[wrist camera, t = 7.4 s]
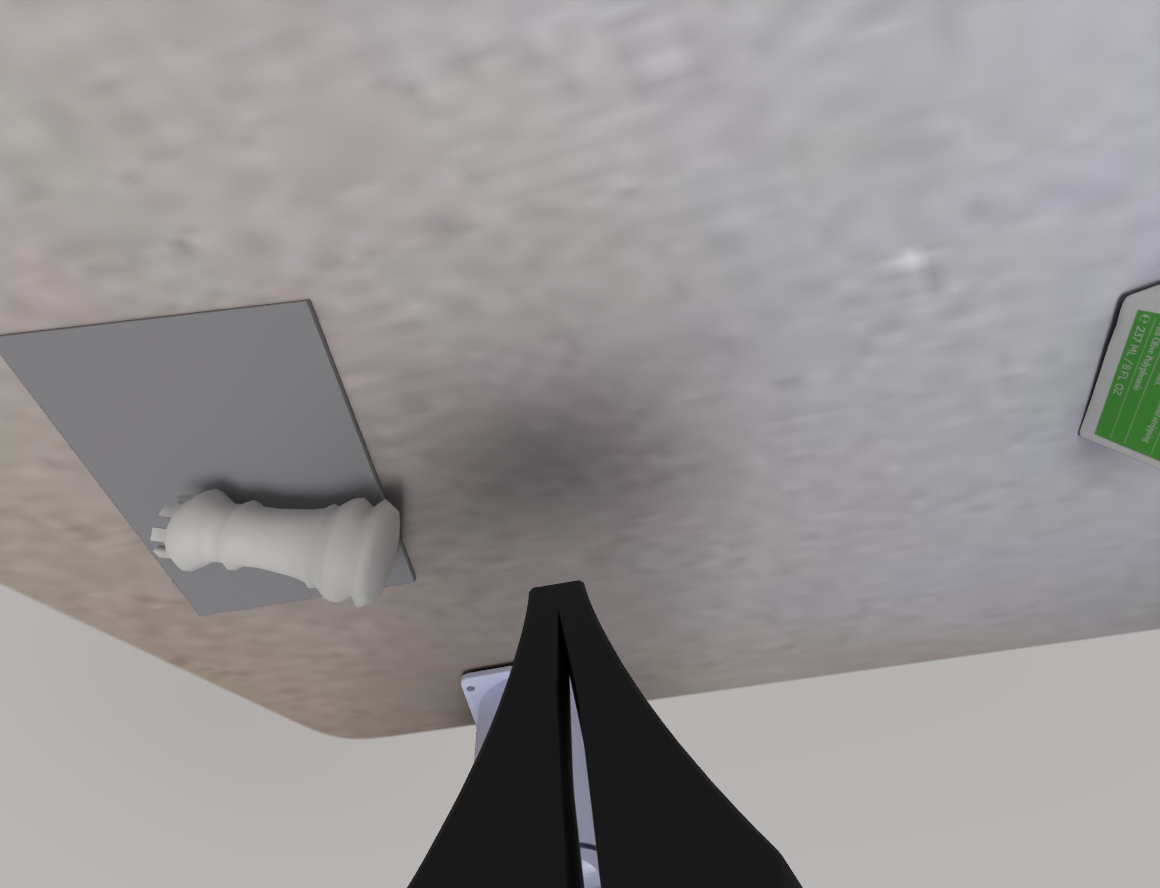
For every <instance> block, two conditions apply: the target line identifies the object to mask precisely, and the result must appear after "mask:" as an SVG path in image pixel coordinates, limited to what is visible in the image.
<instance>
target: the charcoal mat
mask: <svg viewBox="0 0 1160 888" xmlns="http://www.w3.org/2000/svg"><path fill="white" fill-rule="evenodd" d="M0 355H1V356H2V358H3V359H4V360H5V362H6V363H7V364H8V366H9V367H10V368H11V369H12V371H13V372H14V373H15V375H16V376H17V377H18V379H19V380H20V381H21V383H22V384H23V385H24V387H25V388H26V389H27V390H28V392H29V393H30V394H31V396H32V397H33V398H34V400H35V401H36V402H37V404H38V405H39V406H40V408H41V409H42V410H43V411H44V413H45V414H46V415H47V417H48V418H49V419H50V421H51V422H52V423H53V425H54V426H55V427H56V429H57V430H58V431H59V432H60V434H61V435H62V436H63V438H64V439H65V440H66V442H67V443H68V444H69V446H70V447H71V448H72V450H73V451H74V452H75V453H76V455H77V456H78V457H79V459H80V460H81V461H82V463H83V464H84V465H85V467H86V468H87V469H88V471H89V472H90V473H91V474H92V476H93V477H94V478H95V480H96V481H97V482H98V484H99V485H100V486H101V488H102V489H103V490H104V492H105V493H106V494H107V495H108V497H109V498H110V499H111V501H112V502H113V503H114V505H115V506H116V507H117V509H118V510H119V511H120V513H121V514H122V515H123V516H124V518H125V519H126V520H127V522H128V523H129V524H130V526H131V527H132V528H133V530H134V531H135V532H136V534H137V535H138V536H139V537H140V539H141V540H142V541H143V543H144V544H145V545H146V547H147V548H148V549H149V551H150V552H151V553H152V555H153V556H154V557H155V558H156V560H157V561H158V562H159V564H160V565H161V566H162V568H163V569H164V570H165V572H166V573H167V574H168V576H169V577H170V578H171V580H172V581H173V582H174V583H175V585H176V586H177V587H178V589H179V590H180V591H181V593H182V594H183V595H184V597H185V598H186V599H187V601H188V602H189V603H190V604H191V606H192V607H193V608H194V610H195V611H196V612H197V614H198V615H199V616H205V615H212V614H218V613H224V612H231V611H237V610H243V609H249V608H256V607H262V606H268V605H274V604H281V603H287V602H293V601H299V600H306V599H312V598H318V597H322V595H321V594H320V592H319V591H318V589H317V588H308V587H307V585H306V584H305V582H303V581H300V580H298V579H296V578H293V577H291V576H287V575H283V574H280V573H276V572H272V571H268V570H264V569H260V568H254V567H246V566H243V567H241V568H239V569H237V570H227V569H226V567H225V566H224V565H223V563H219V562H212V563H210V564H208V565H206V566H203V567H201V568H199V569H196V570H194V571H182V570H181V569H180V568H179V567H178V566H177V565H176V564H175V563H174V562H173V561H172V559H170V558H162V557H158V556H157V555H156V554H155V553H154V552H153V550H154V549H155V548H156V547H157V546H158V545H163V546H165V544H164V542H158V541H151V534H152V527H161V528H167V526H168V524H169V522H170V520H171V518H166V517H162V516H160V515H159V513H160V512H161V510H162V509H163V508H164V507H165V506H166V504H167V503H168V504H175V505H181V504H178V503H177V496H181V495H186V494H188V495H195V496H196V495H198V494H200V493H202V492H204V491H208V490H212V489H217V490H220V491H222V492H225V493H226V495H227V496H228V497H229V498H230V499H231V500H232V501H233V502H234V503H235V504H244V503H246V502H249V501H252V500H255V501H258V502H260V503H261V504H262V505H263V506H264V507H270V508H277V509H320V508H327V507H328V506H330V505H333V504H336V505H338V506H341V505H343V504H344V503H346V502H348V501H350V500H352V499H355V498H365V499H367V500H368V501H369V502H370V503H371V504H372V505H373V507H375V506H376V505H377V504H379V503H380V502H382V501H383V500H385V496H384V493H383V491H382V488H381V485H380V483H379V480H378V478H377V475H376V472H375V470H374V467H373V464H372V462H371V459H370V457H369V454H368V451H367V449H366V446H365V443H364V441H363V438H362V436H361V433H360V430H359V428H358V425H357V422H356V420H355V417H354V415H353V412H352V409H351V407H350V404H349V401H348V399H347V396H346V394H345V391H344V388H343V386H342V383H341V380H340V378H339V375H338V373H337V370H336V367H335V365H334V362H333V359H332V357H331V354H330V352H329V349H328V346H327V344H326V341H325V338H324V336H323V333H322V331H321V328H320V325H319V323H318V320H317V317H316V315H315V312H314V310H313V307H312V304H311V302H310V300H302V301H293V302H284V303H276V304H267V305H259V306H250V307H241V308H233V309H224V310H215V311H207V312H198V313H189V314H181V315H172V316H163V317H155V318H146V319H137V320H129V321H120V322H111V323H103V324H94V325H85V326H77V327H68V328H59V329H51V330H42V331H33V332H25V333H16V334H7V335H0ZM415 578H416V577H415V575H414V572H413V570H412V567H411V564H410V562H409V559H408V556H407V554H406V551H405V549H404V546H403V543H402V541H401V538H400V535H399V540H398V546H397V551H396V555H395V559H394V563H393V566H392V569H391V572H390V575H389V578H388V581H387V583H386V585H385V587H387V586H393V585H400V584H406V583H412V582H415Z"/></svg>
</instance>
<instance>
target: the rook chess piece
mask: <svg viewBox="0 0 1160 888" xmlns="http://www.w3.org/2000/svg"><path fill="white" fill-rule="evenodd" d="M177 503H178V504H181V505H175V504H168V503H167V504H166V506H165V507H164V508H163V509H162V510H161V512H160V513H159V515H160V516H162V517H166V518H171V520H170V522H169V524H168V526H167V528H161V527H152V534H151V541H158V542H164V544H165V546H163V545H158V546H157V547H156V548H155V549H154V550H153V552H154V553H155V554H156V555H157V556H158V557H162V558H170V559H172V561H173V562H174V563H175V564H176V565H177V566H178V567H179V568H180V569H181V570H182V571H194V570H196V569H199V568H201V567H203V566H206V565H208V564H210V563H212V562H219V563H223V565H224V566H225V567H226V569H227V570H237V569H239V568H241V567H243V566H246V567H254V568H260V569H264V570H268V571H272V572H276V573H280V574H283V575H287V576H291V577H293V578H296V579H298V580H300V581H303V582H305V584H306V585H307V587H308V588H317V589H318V591H319V592H320V594H321V595H322V597H323V598H324V599H326V600H328V601H331V602H333V603H340V602H342V601H344V600H345V599H347V598H349V597H351V598H352V600H353V602H354V604H355V606H356V607H363V606H365V605H367V604H369V603H371V602H373V601H375V600H376V599H377V598H378V597H379V596H380V594H381V593H382V591H383V589H384V587H385V585H386V583H387V581H388V578H389V575H390V572H391V569H392V566H393V563H394V559H395V555H396V551H397V546H398V540H399V534H400V514H399V511H398V510H397V509H396V508H395V507H394V506H393V505H392V504H391V503H389V502H388V501H387V500H386V499H385V500H383V501H382V502H380V503H379V504H377V505H376V506H375V507H373V505H372V504H371V503H370V502H369V501H368V500H367V499H365V498H355V499H352V500H350V501H348V502H346V503H344V504H343V505H341V506H338V505H336V504H333V505H330V506H328V507H327V508H320V509H277V508H270V507H264V506H263V505H262V504H261V503H260V502H258V501H255V500H252V501H249V502H246V503H244V504H235V503H234V502H233V501H232V500H231V499H230V498H229V497H228V496H227V495H226V493H225V492H222V491H220V490H217V489H212V490H208V491H204V492H202V493H200V494H198V495H196V496H195V495H188V494H186V495H181V496H177Z"/></svg>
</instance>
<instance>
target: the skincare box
mask: <svg viewBox="0 0 1160 888" xmlns="http://www.w3.org/2000/svg"><path fill="white" fill-rule="evenodd" d="M1080 435H1081V436H1082V437H1083V438H1085V439H1088V440H1090V441H1093V442H1095V443H1097V444H1100V445H1102V446H1105V447H1107V448H1110V449H1112V450H1114V451H1117V452H1119V453H1122V454H1124V455H1126V456H1129V457H1131V458H1133V459H1136V460H1138V461H1141V462H1143V463H1145V464H1148V465H1150V466H1152V467H1155V468H1157V469H1159V470H1160V284H1159V285H1156V286H1153V287H1150V288H1147V289H1145V290H1142V291H1139V292H1137V293H1134V294H1131V295H1129V296H1127V297H1126V298H1125V300H1124V302H1123V304H1122V307H1121V310H1120V313H1119V317H1118V321H1117V325H1116V327H1115V330H1114V332H1113V335H1112V338H1111V340H1110V343H1109V346H1108V349H1107V352H1106V355H1105V358H1104V361H1103V365H1102V368H1101V371H1100V374H1099V377H1098V380H1097V383H1096V386H1095V389H1094V392H1093V395H1092V398H1091V401H1090V404H1089V406H1088V409H1087V412H1086V415H1085V418H1084V421H1083V423H1082V426H1081V429H1080Z"/></svg>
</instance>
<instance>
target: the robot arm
mask: <svg viewBox="0 0 1160 888" xmlns="http://www.w3.org/2000/svg"><path fill="white" fill-rule="evenodd" d="M461 686H462V689H463V692H464V694H465V697H466V700H467V702H468V705H469V708H470V710H471V713H472V716H473V719H474V721H475V724H476V727H477V732H476V747H475V760H474V764H473V766H472V769H471V771H470V773H469V775H468V777H467V779H466V781H465V783H464V785H463V787H462V789H461V792H460V793H459V795H458V797H457V799H456V801H455V803H454V805H453V807H452V809H451V811H450V813H449V814H448V816H447V818H446V820H445V822H444V824H443V826H442V827H441V829H440V831H439V833H438V835H437V836H436V838H435V840H434V842H433V844H432V846H431V848H430V850H429V851H428V853H427V855H426V857H425V858H424V860H423V862H422V864H421V865H420V867H419V869H418V871H417V872H416V874H415V876H414V877H413V879H412V881H411V882H410V884H409V886H408V887H407V888H802V886H801V884H800V883H799V881H798V880H797V878H796V876H795V875H794V873H793V872H792V870H791V869H790V867H789V866H788V864H787V862H786V861H785V860H784V858H783V856H782V855H781V854H780V853H779V851H778V850H777V849H776V848H775V847H774V846H773V845H772V844H771V843H770V842H769V841H768V840H767V839H766V838H765V837H764V836H763V835H762V834H761V833H760V832H759V831H758V830H757V829H756V828H755V827H754V826H753V825H752V824H751V823H750V822H749V821H748V820H747V819H746V818H745V817H744V816H743V815H742V814H741V813H740V812H739V811H738V810H737V808H736V807H735V806H734V805H733V804H732V803H731V802H730V801H729V800H728V799H727V798H726V797H725V795H724V794H723V793H722V792H721V791H720V790H719V789H718V788H717V787H716V786H715V785H714V783H713V782H712V781H711V780H710V779H709V778H708V777H707V775H706V774H705V773H704V772H703V771H702V769H701V768H700V767H699V766H698V765H697V764H696V762H695V761H694V760H693V759H692V758H691V757H690V755H689V754H688V753H687V752H686V751H685V750H684V748H683V747H682V746H681V745H680V744H679V743H678V741H677V740H676V739H675V737H674V736H673V735H672V733H671V732H670V731H669V730H668V728H667V727H666V726H665V724H664V723H663V722H662V721H661V719H660V718H659V717H658V716H657V714H656V712H655V711H654V710H653V709H652V707H651V706H650V704H649V703H648V702H647V700H646V699H645V697H644V696H643V694H642V693H641V691H640V690H639V689H638V687H637V686H636V684H635V683H634V681H633V679H632V678H631V676H630V675H629V673H628V672H627V670H626V669H625V667H624V665H623V664H622V662H621V660H620V659H619V657H618V656H617V654H616V652H615V650H614V649H613V647H612V645H611V643H610V641H609V640H608V638H607V636H606V634H605V632H604V630H603V629H602V627H601V625H600V623H599V621H598V618H597V616H596V614H595V612H594V610H593V608H592V605H591V603H590V600H589V598H588V595H587V592H586V589H585V585H584V583H583V582H581V581H580V580H578V581H572V582H566V583H560V584H554V585H548V586H542V587H536V588H532V590H531V591H530V592H529V600H528V606H527V612H526V617H525V622H524V626H523V630H522V634H521V638H520V642H519V645H518V649H517V652H516V655H515V659H514V662H513V665H512V666H506V667H501V668H495V669H489V670H483V671H478V672H472V673H467V674H465V675H463V676H462V678H461Z"/></svg>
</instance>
